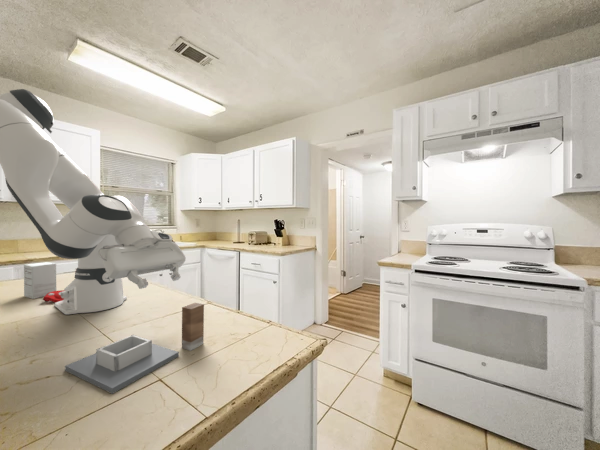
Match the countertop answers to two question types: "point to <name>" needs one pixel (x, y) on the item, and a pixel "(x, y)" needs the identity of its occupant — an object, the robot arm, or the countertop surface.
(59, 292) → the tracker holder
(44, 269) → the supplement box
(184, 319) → the block
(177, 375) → the countertop surface
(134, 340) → the grey socket base
